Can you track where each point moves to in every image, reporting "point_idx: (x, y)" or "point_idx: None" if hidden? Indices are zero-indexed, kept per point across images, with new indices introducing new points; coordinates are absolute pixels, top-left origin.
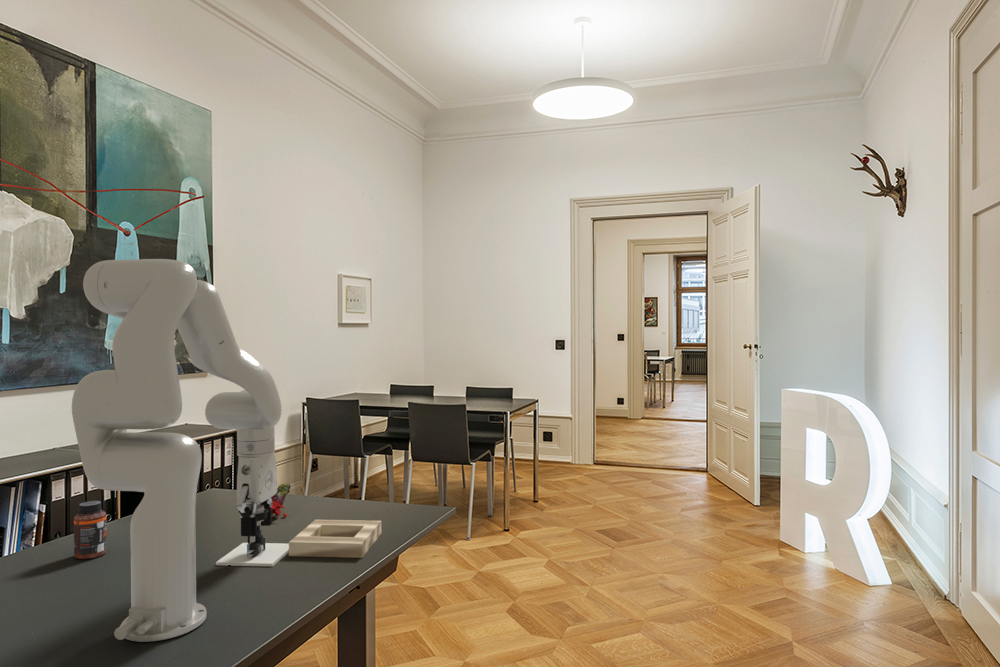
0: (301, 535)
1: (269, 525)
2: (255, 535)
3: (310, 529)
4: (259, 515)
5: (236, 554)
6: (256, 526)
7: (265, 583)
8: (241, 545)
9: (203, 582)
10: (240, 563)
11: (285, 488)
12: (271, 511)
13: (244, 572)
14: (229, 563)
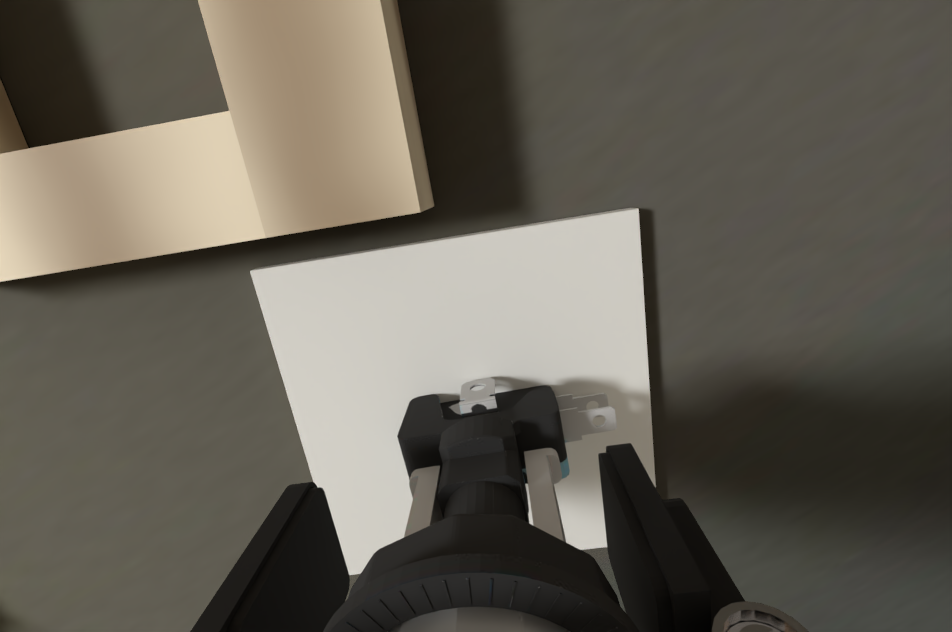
0: (236, 197)
1: (314, 486)
2: (630, 443)
3: (73, 205)
4: (597, 591)
5: None
6: (641, 496)
7: (929, 76)
8: None
9: (898, 451)
10: (650, 411)
11: None
12: (221, 586)
13: (742, 324)
14: (652, 470)
